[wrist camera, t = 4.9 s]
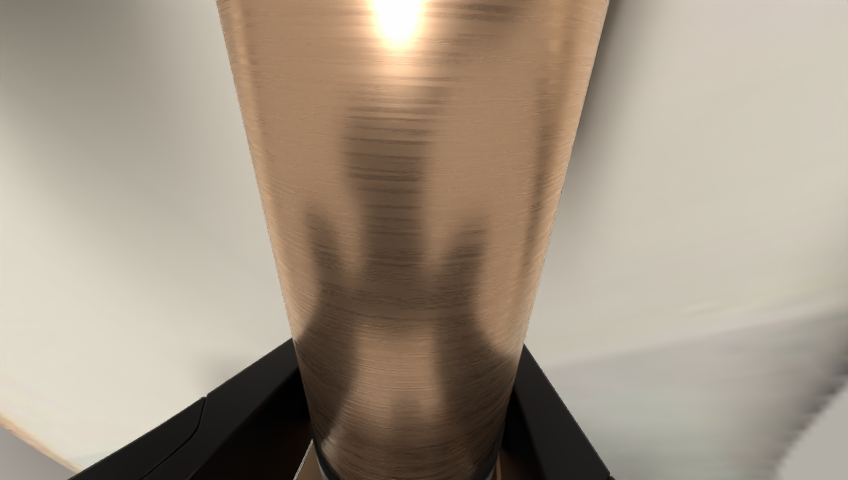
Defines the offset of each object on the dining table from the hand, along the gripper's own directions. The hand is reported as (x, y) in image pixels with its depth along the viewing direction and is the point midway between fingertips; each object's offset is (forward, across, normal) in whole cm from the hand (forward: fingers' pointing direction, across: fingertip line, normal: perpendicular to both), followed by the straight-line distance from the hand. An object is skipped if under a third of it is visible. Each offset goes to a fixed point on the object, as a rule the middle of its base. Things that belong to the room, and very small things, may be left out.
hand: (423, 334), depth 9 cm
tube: (0, 0, -4) cm, 4 cm away
